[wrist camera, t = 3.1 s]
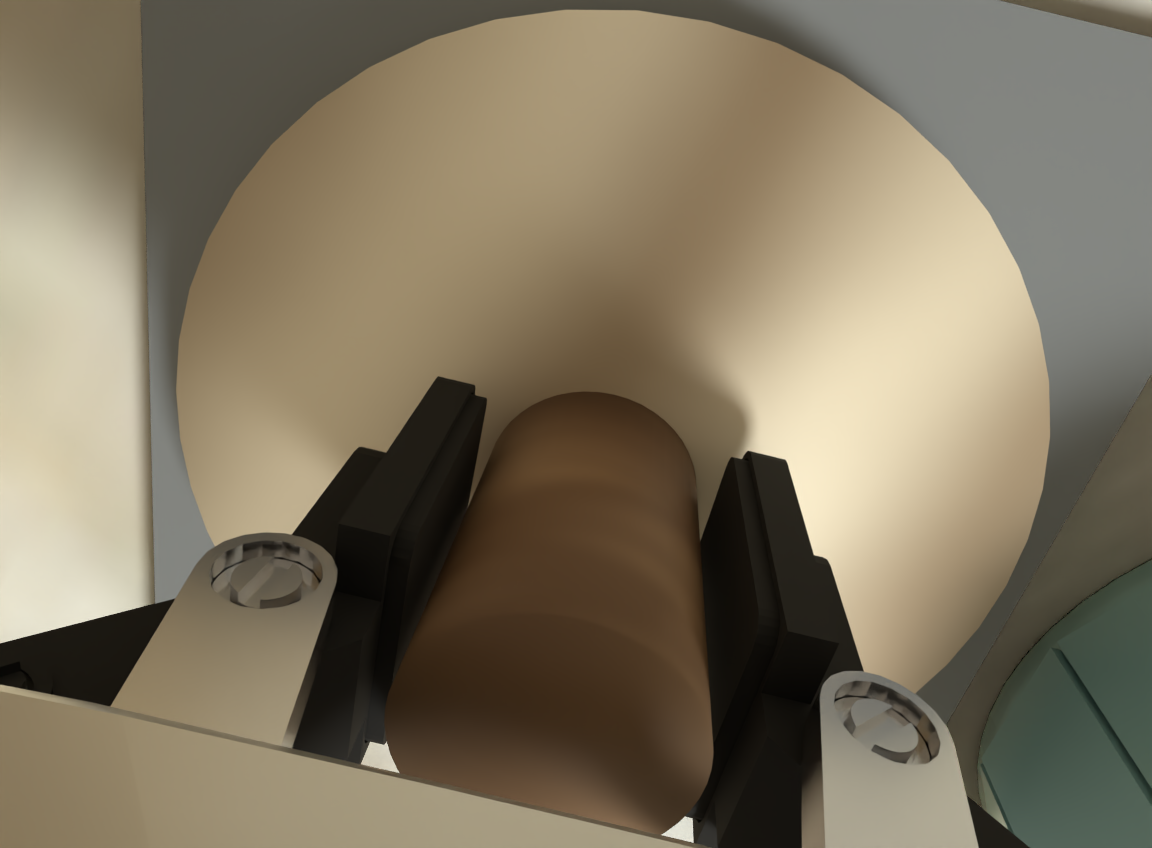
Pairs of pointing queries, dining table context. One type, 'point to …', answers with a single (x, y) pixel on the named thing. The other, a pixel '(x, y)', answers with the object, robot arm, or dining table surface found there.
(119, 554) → the dining table surface
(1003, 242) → the lid
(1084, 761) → the bowl
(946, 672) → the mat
